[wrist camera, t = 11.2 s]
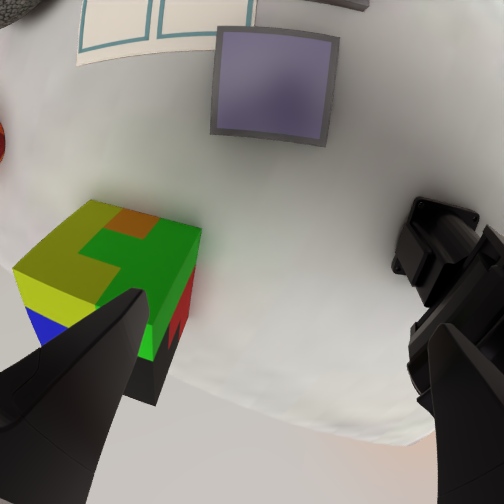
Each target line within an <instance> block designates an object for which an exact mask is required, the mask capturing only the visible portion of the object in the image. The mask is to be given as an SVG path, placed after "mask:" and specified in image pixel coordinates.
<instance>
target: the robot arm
mask: <svg viewBox="0 0 504 504" xmlns="http://www.w3.org/2000/svg"><path fill="white" fill-rule="evenodd" d="M420 202H422V205H421V206H419V207H418V205H419V203H420ZM474 216H475V218H474V219H473V217H474ZM478 222H479V214H478V213H477V212H475V211H472V210H469V209H465V208H462V207H458V206H454V205H451V204H447V203H443V202H439V201H435V200H431V199H427V198H423V197H418V198H416V199H415V200H414V202H413V206H412V209H411V212H410V215H409V218H408V221H407V223H406V224H405V225H404V228H403V231H402V234H401V237H400V239H399V242H398V245H397V248H396V251H395V253H396V255H395V258H394V261H393V263H392V267H391V268H392V270H393V272H394V273H395V274H400V275H407V278H408V280H409V282H410V284H411V286H412V287H416V289H417V291H418V293H419V295H420V298H421V300H422V302H423V304H424V306H425V307H428V308H429V309H428V310H427V312H426V313H425V314H424V315H423V316H422V317H421V319H420V320H419V321H418V322H415V323H414V324H413V326H412V327H411V331H410V342H409V346H408V349H409V359H410V361H409V362H408V363H407V370H408V373H409V375H410V378H411V381H412V384H413V386H414V388H415V389H416V391H417V392H418V394H419V395H420V396H419V397H418V398H417V402H418V403H419V404H420V405H421V406H423V407H424V408H425V409H426V410H427V411H429V412H430V414H431V415H432V416H433V417H434V419H435V429H436V442H437V461H438V498H437V504H504V237H503V236H502V235H500V234H499V233H498V232H497V231H495V230H494V229H493V228H491V227H490V226H489V225H486V227H485V228H484V230H483V235H482V236H481V238H480V237H479V236H478V235H477V234H476V233H475V229H476V227H477V224H478ZM398 266H400V267H399V268H397V269H396V267H398ZM149 314H150V310H149V304H148V299H147V294H146V291H145V290H144V289H140V288H135V287H132V288H130V289H128V290H126V291H125V292H123V293H122V294H120V295H118V296H117V297H115V298H114V299H112V300H111V301H109V302H107V303H106V304H104V305H103V306H101V307H100V308H98V309H97V310H95V311H94V312H92V313H90V314H89V315H87V316H86V317H84V318H83V319H81V320H80V321H78V322H77V323H75V324H74V325H72V326H71V327H69V328H68V329H66V330H65V331H63V332H62V333H60V334H59V335H57V336H56V337H54V338H53V339H51V340H50V341H48V342H47V343H45V344H44V345H42V346H41V348H38V349H36V350H35V351H34V352H32V353H31V354H29V355H28V356H26V357H25V358H23V359H21V360H20V361H18V362H17V363H15V364H13V365H12V366H10V367H9V368H7V369H5V370H3V371H2V372H0V504H86V500H87V497H88V493H89V490H90V487H91V484H92V480H93V477H94V473H95V470H96V467H97V464H98V461H99V458H100V455H101V452H102V449H103V446H104V443H105V441H106V438H107V435H108V432H109V429H110V427H111V424H112V421H113V418H114V416H115V413H116V410H117V408H118V405H119V402H120V400H121V397H122V395H123V392H124V390H125V387H126V384H127V382H128V379H129V377H130V374H131V372H132V370H133V367H134V365H135V362H136V359H137V356H138V353H139V349H140V346H141V342H142V339H143V335H144V332H145V329H146V325H147V322H148V319H149Z"/></svg>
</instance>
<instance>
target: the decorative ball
mask: <svg viewBox="0 0 504 504" xmlns="http://www.w3.org/2000/svg"><path fill="white" fill-rule="evenodd" d="M40 1H41V0H0V29H1V28H4V27H6V26H8V25H10V24H12V23H14V22H15V21H17V20H19V19H20V18H22V17H23V16H24V15H26V14H27V13H28V12H30V11H31V10H32V9H33V8H34V7H35V6H37V5H38V4H39V3H40Z"/></svg>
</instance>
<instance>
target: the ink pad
mask: <svg viewBox="0 0 504 504" xmlns="http://www.w3.org/2000/svg"><path fill="white" fill-rule="evenodd" d="M339 41H340V37H335V36H330V35H325V34H319V33H313V32H306V31H298V30H290V29H281V28H269V27H254V26H217V34H216V46H215V58H214V72H213V86H212V103H211V122H210V134H212V135H227V136H240V137H251V138H261V139H270V140H279V141H287V142H294V143H301V144H308V145H315V146H321V147H326V142H327V136H328V129H329V122H330V115H331V108H332V101H333V93H334V86H335V77H336V69H337V60H338V51H339Z"/></svg>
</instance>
